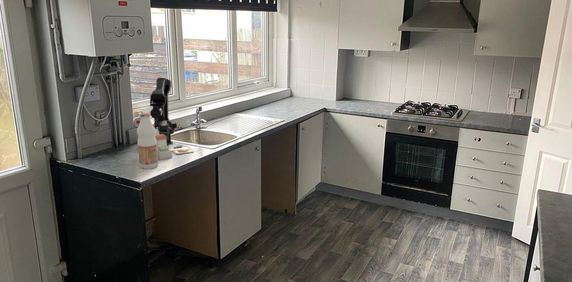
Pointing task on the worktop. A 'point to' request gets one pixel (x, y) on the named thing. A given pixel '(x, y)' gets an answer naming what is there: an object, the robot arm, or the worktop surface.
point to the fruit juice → (147, 143)
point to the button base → (164, 154)
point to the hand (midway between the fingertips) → (160, 141)
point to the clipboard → (181, 150)
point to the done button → (163, 148)
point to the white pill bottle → (161, 140)
